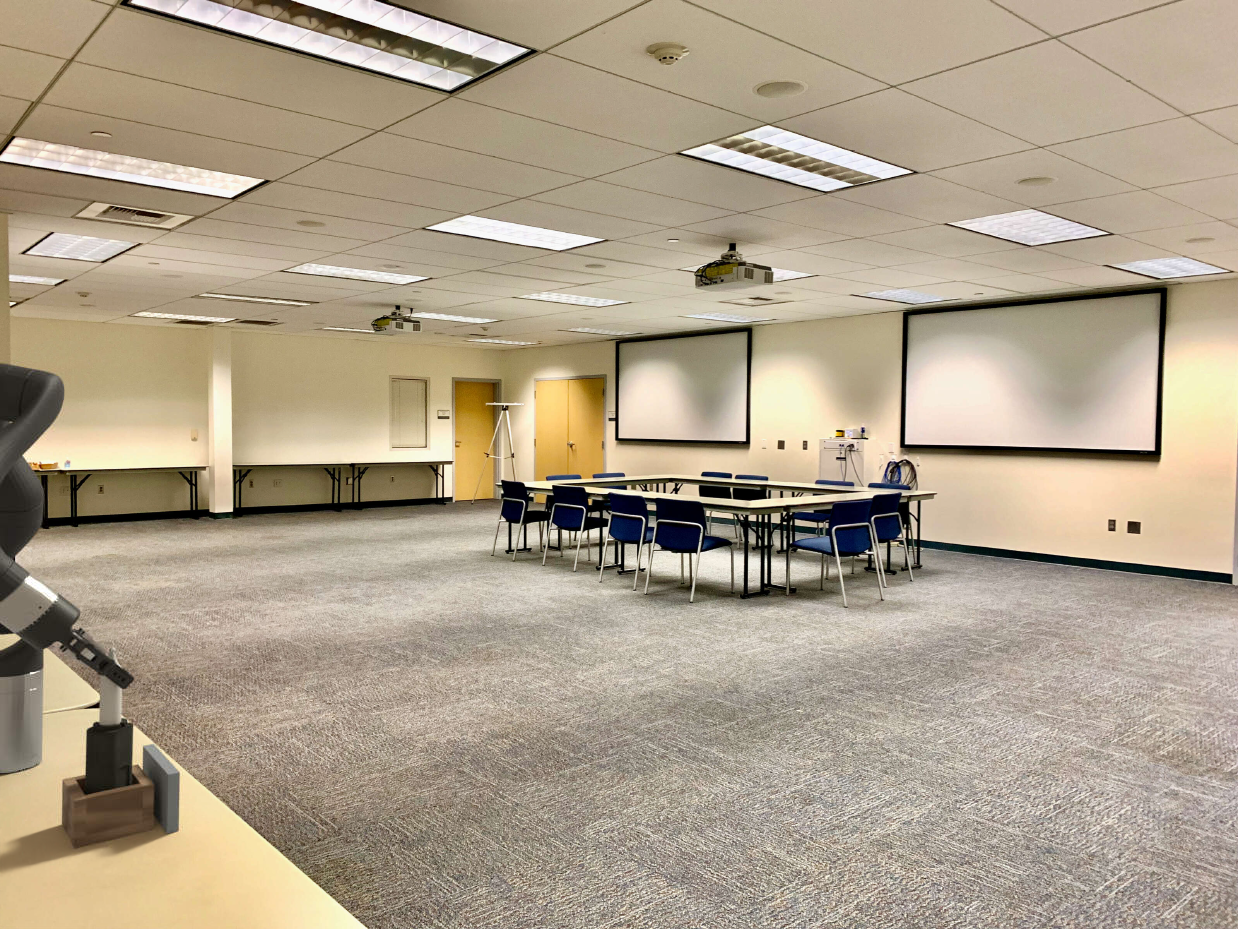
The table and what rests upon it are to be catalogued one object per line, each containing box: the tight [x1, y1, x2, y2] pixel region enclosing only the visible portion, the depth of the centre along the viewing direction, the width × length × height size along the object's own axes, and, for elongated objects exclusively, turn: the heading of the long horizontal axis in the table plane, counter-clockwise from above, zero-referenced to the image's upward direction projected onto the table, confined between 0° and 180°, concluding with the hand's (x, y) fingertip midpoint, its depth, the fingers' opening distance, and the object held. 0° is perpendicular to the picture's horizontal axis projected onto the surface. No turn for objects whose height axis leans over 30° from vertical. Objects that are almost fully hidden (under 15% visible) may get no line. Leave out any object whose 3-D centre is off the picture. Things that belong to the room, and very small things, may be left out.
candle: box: [84, 647, 134, 795], centre depth 132 cm, size 5×5×25 cm
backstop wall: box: [142, 743, 181, 834], centre depth 137 cm, size 16×2×9 cm, turn 41°
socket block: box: [61, 764, 154, 849], centre depth 132 cm, size 10×10×7 cm
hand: (126, 681), depth 133 cm, fingers closed on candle, 3 cm apart
